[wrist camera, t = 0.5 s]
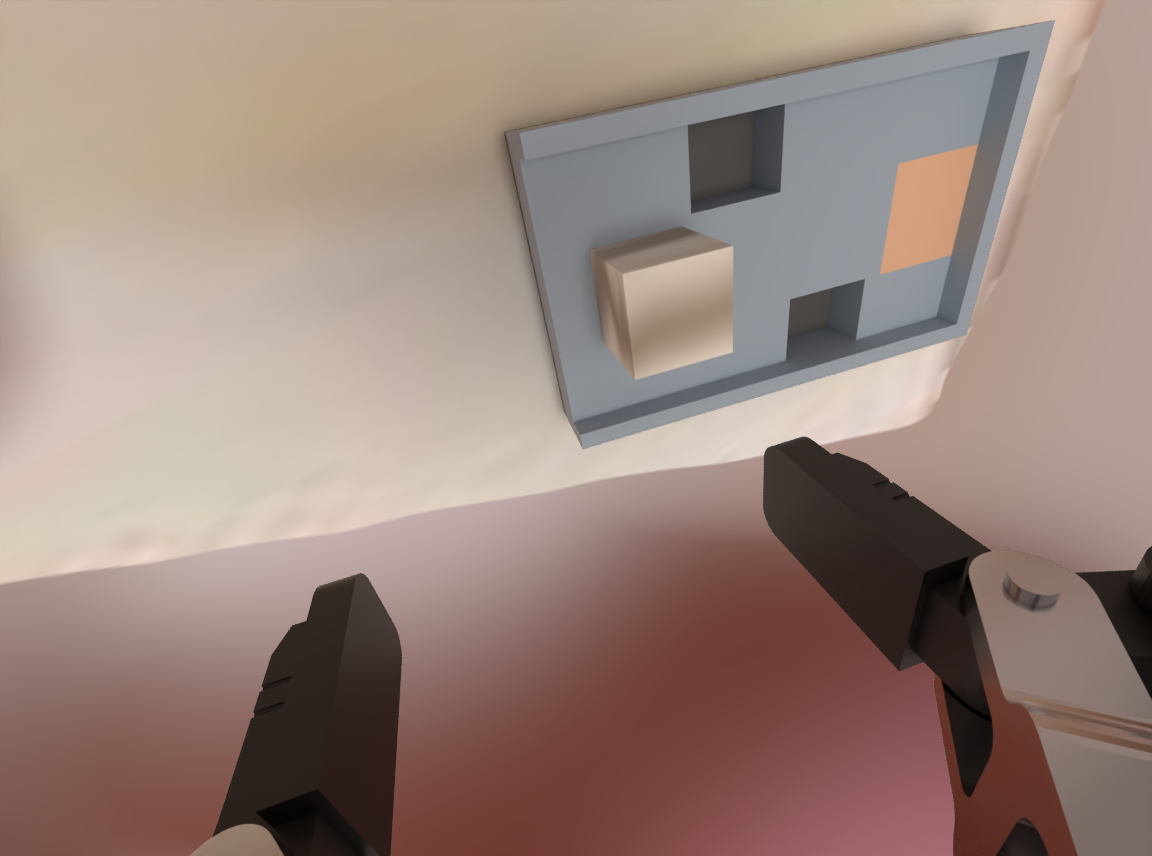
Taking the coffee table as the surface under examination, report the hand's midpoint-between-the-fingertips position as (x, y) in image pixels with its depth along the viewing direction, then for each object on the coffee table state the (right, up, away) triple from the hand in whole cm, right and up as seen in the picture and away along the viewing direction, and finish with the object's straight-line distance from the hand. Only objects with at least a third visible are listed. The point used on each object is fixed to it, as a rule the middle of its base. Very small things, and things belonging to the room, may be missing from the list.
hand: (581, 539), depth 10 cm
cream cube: (+3, +10, +17) cm, 19 cm away
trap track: (+10, +13, +20) cm, 26 cm away
